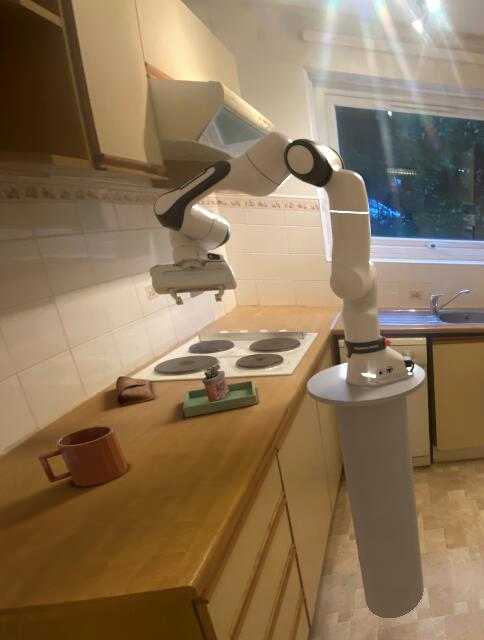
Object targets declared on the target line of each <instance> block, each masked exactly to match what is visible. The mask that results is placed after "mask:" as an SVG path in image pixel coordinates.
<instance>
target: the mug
mask: <svg viewBox="0 0 484 640" xmlns="http://www.w3.org/2000/svg"><path fill="white" fill-rule="evenodd" d="M55 445H56V446H57V450H54V451H49V452H47V453H44V454H40V455H38V457H37V458H38V461H39V463H40V466H41V468H42V469H43V472H44V474H45V476H46V478H47V480H48V482H50V483H55V482H58V481H61V480H65V479H68V478H71V479H72V481H73V484H74V485H75V486H78V487H92V486H98V485H101V484H105V483H108V482H110V481H112V480H115V479H117V478H118V477H120V476H122V475H124V474H125V473H126V472H127V470H128V463H127V461H126V457H125V455H124V453H123V450H122V447H121V445H120V443H119V440H118V437H117V435H116V432H115V430H114V428H113V427H112V426H111V425H110V426H108V425H95V426H90V427H84V428H81V429H76V430H74V431H71V432H69V433H66V434H64V435H62V436H61V437H60V438H59V437H58V439H57V440H56V442H55ZM60 455H61V457H62V460H63V462H64V464H65V466H66V468H67V470H68V471H66V472H65V473H64V472H63V473H61V474H57V475H55V473H54V471H53V469H52V467H51V464H50V462H49V461H48V459H51V458H55V457H57V456H60Z"/></svg>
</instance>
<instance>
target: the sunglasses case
mask: <svg viewBox="0 0 484 640" xmlns="http://www.w3.org/2000/svg"><path fill="white" fill-rule="evenodd" d="M151 385H152V381H151V379H146V378H133V377H131V376H130V377H129V376H125V375H123V376H122V375H120V376H118V377H117V378H116V384H115V391H116V393H115V395H116V400H117V403H118V404H120V405H122V406H127V405H129V406H130V405H136V404H141V403H144V402H147V401H151V400H153V399H155V395H154V393H153V391H152V386H151Z"/></svg>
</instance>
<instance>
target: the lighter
mask: <svg viewBox="0 0 484 640" xmlns="http://www.w3.org/2000/svg"><path fill="white" fill-rule="evenodd" d="M220 369H221V366H220V364H219V363H216V364H214V365H212V366H211V367H207V368H206V370H205V371H204V372H203V373H204V376H205V377H203V379H202V380H201V381H202V382H201V383H202V384H203V385H204V388H205V389H206V393H207V396H208V400H209V401H208V403H210V402H216V401H221V400H226V399H227V398H228V397H229V396H230V392H229V390H228V387H227V384H228V383H227V380H226V373H225V371H224V370H220Z"/></svg>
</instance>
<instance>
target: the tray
mask: <svg viewBox="0 0 484 640" xmlns="http://www.w3.org/2000/svg"><path fill="white" fill-rule="evenodd" d="M227 387H228V390H229V392H230V396H229V397H228V398H227V399H226V400H221V401H216V402H210V403H208V401H209V400H208V396H207V393H206V389H205V387H203V388H198V389H191V390H186V391H185V395H184V401H183V405H182V411H183V413H184V416H185V417H184V418H188V417H194V416H200V415H205V414H211V413H215V412H221V411H225V410H230V409H232V410H233V409H237V408H242V407H247V406H254V405H257V404H258V399H257V398H258V397H257V391H256V386H255V383H254V380H247V381H241V382H240V381H239V382H234V383H227Z"/></svg>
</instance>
